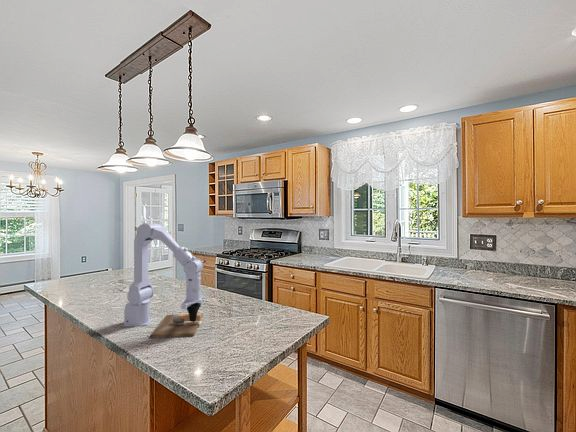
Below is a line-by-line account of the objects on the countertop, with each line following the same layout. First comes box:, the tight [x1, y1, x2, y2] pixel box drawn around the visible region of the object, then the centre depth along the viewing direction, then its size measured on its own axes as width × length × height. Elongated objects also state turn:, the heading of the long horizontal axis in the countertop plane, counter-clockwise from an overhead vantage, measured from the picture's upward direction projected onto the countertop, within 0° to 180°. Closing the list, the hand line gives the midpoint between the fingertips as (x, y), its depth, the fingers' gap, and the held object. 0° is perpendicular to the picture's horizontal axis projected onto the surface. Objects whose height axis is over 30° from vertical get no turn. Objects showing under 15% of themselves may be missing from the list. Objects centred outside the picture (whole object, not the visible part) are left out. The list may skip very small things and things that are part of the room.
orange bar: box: [173, 312, 203, 323], centre depth 120 cm, size 12×5×2 cm, turn 97°
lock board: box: [150, 313, 203, 339], centre depth 120 cm, size 17×22×2 cm
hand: (192, 321), depth 118 cm, fingers closed
